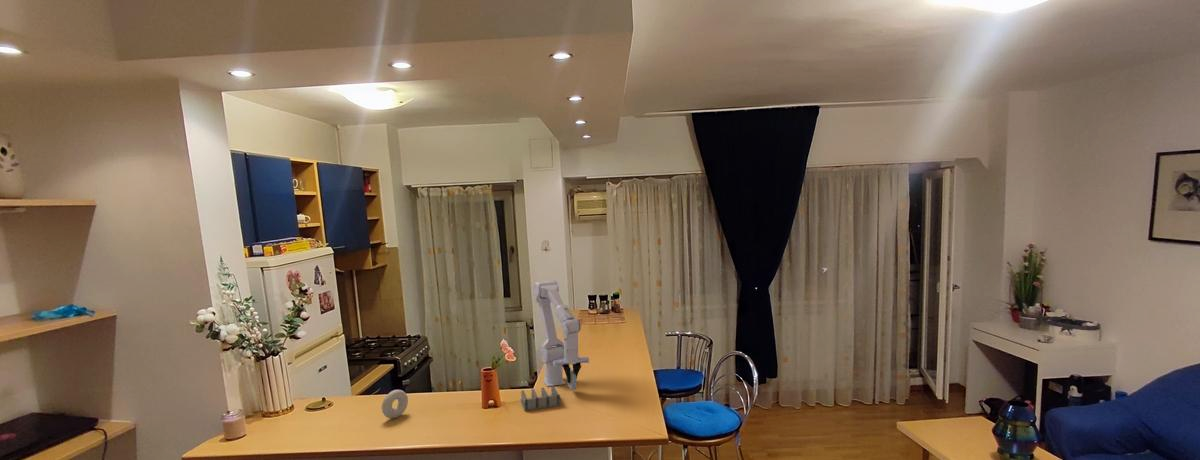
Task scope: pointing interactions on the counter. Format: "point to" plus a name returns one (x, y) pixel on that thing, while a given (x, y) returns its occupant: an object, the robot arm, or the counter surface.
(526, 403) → the rack
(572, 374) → the plate
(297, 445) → the counter surface
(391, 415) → the donut
